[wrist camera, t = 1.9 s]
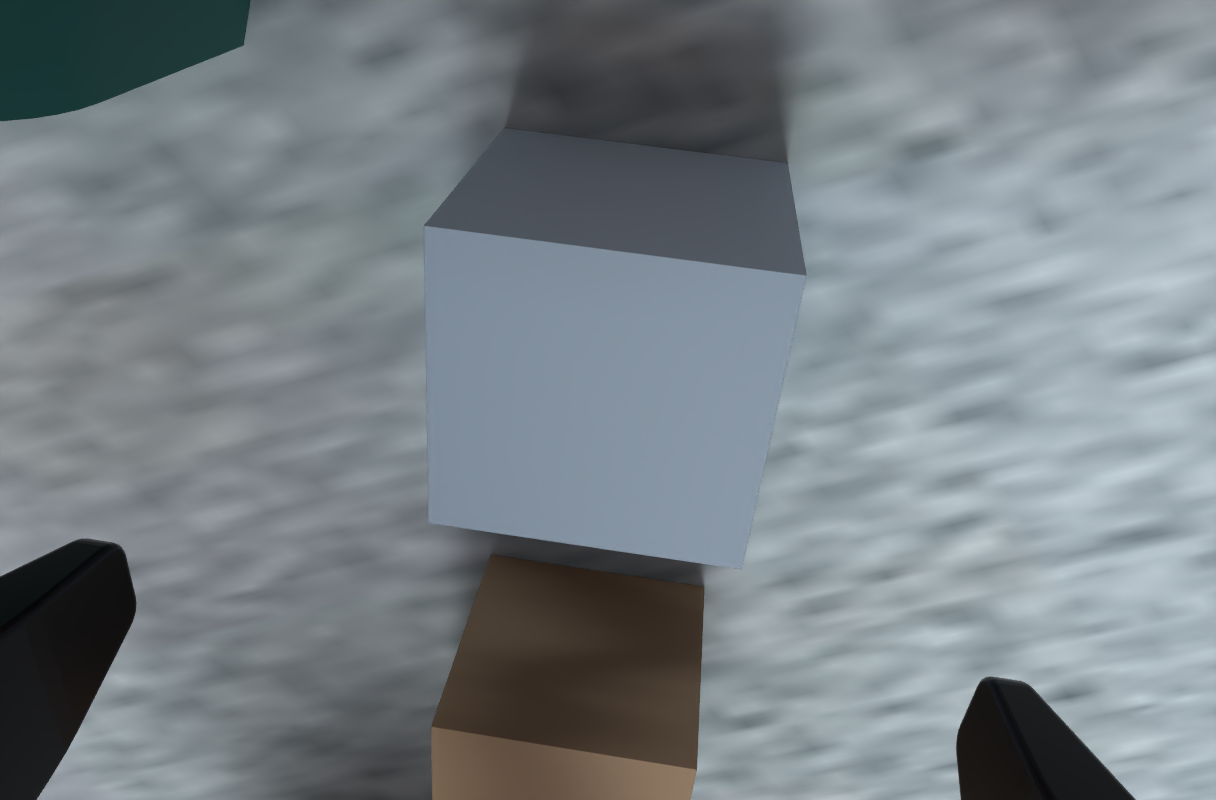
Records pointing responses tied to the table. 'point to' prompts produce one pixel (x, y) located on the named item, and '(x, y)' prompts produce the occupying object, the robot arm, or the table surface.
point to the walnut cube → (572, 688)
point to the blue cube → (608, 343)
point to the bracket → (104, 48)
